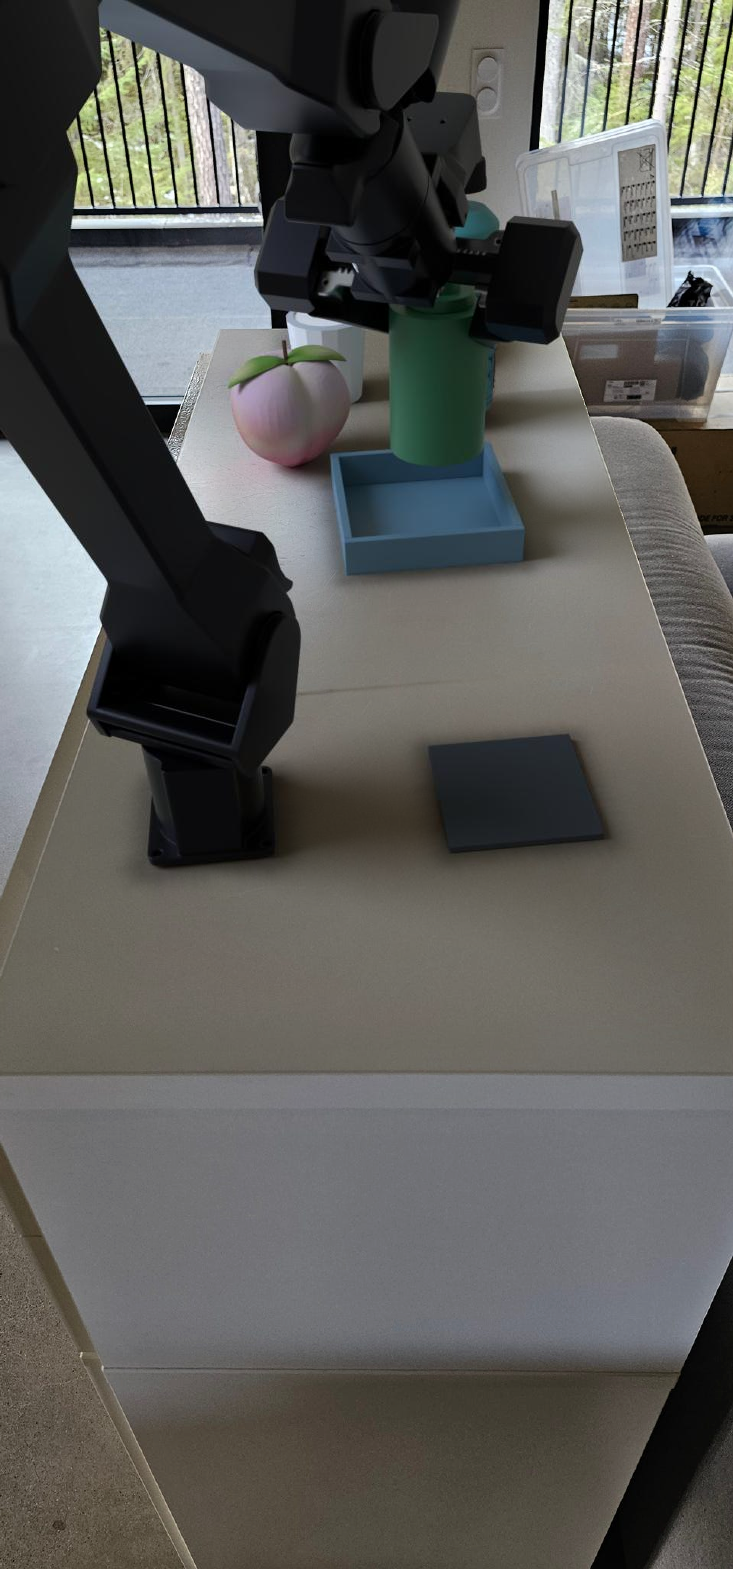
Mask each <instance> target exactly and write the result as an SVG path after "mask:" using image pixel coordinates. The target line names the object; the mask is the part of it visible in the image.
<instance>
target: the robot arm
mask: <svg viewBox="0 0 733 1569" xmlns="http://www.w3.org/2000/svg"><path fill="white" fill-rule="evenodd" d="M462 1H463V0H0V431H1V433H2V435H4V437H5V438H6V440H7V441H8V442H9V444H10V445H11V447H12V448H13V450H14V451H15V452H16V454H17V455H18V456H19V459H20V460H21V461H22V462H23V464H24V466H25V467H26V468H27V470H28V471H29V472H30V474H31V475H32V477H33V478H34V479H35V481H36V482H37V483H38V485H39V486H40V488H41V489H42V491H43V492H44V494H45V495H46V497H47V498H48V499H49V501H50V502H51V504H52V505H53V507H54V508H55V509H56V510H57V512H58V514H59V515H60V517H61V518H62V519H63V520H64V522H65V523H66V525H67V526H68V528H69V529H70V531H71V532H72V533H73V535H74V537H75V538H76V539H77V540H78V542H79V544H81V546H82V547H83V549H84V551H85V552H86V553H87V555H88V556H89V557H90V559H91V560H92V562H93V563H94V564H95V566H96V568H97V569H98V571H99V572H100V573H101V574H102V576H103V577H104V579H105V582H106V583H107V584H106V589H105V592H104V596H103V600H102V605H101V607H100V612H99V617H98V618H99V620H100V625H101V626H102V628H103V630H104V633H105V634H106V639H105V642H104V646H103V649H102V652H101V656H100V660H99V663H98V666H97V667H98V668H97V670H96V674H95V678H94V682H93V685H92V687H91V691H90V696H89V699H88V703H87V706H86V712H85V714H86V718H88V720H89V721H90V723H91V724H92V725H93V727H94V728H95V729H96V731H97V733H98V734H99V735H100V736H102V737H103V736H104V737H107V738H112V737H113V738H117V739H121V740H125V741H128V742H131V743H134V744H138V745H140V747H141V751H142V756H143V760H144V765H145V770H146V773H147V778H148V783H149V788H150V792H151V798H150V799H151V800H150V815H149V828H148V843H147V859H148V862H149V864H150V865H152V866H154V867H162V866H171V865H172V866H173V865H174V866H175V865H184V864H195V863H196V864H197V863H207V862H208V863H209V862H217V861H227V860H228V861H230V860H240V859H251V858H261V857H270V856H272V855H274V854H275V853H276V851H277V831H276V813H275V811H276V810H275V792H274V791H275V790H274V773H273V769H272V768H271V767H270V766H267V765H262V764H263V762H264V761H265V760H266V759H267V757H268V756H269V755H270V753H271V752H272V751H273V749H274V748H275V747H276V745H277V744H278V743H279V741H280V740H281V739H282V738H283V737H284V735H285V734H286V732H288V730H289V728H290V727H291V726H292V725H293V723H294V721H295V710H296V700H297V688H298V680H299V679H298V678H299V668H300V658H301V646H302V632H301V631H302V630H301V626H300V622H299V621H298V619H297V615H296V611H295V608H294V604H293V601H292V599H291V598H290V596H289V594H288V592H289V591H291V590H292V589H293V586H294V582H293V580H291V579H289V578H288V577H286V575H285V573H284V572H283V571H282V568H281V565H280V563H279V559H278V555H277V552H276V547H275V545H274V544H273V543H272V541H271V540H270V539H269V537H267V535H266V534H265V533H264V532H263V531H259V530H254V529H250V528H245V527H240V526H235V525H230V524H225V523H221V522H216V521H211V520H206V517H205V516H204V514H203V512H202V510H201V508H200V506H199V503H198V502H197V500H196V498H195V497H194V494H193V493H192V490H191V489H190V486H189V485H188V483H187V481H186V479H185V477H184V475H183V474H182V472H181V469H180V468H179V466H178V464H177V462H176V460H175V458H174V456H173V454H172V452H171V451H170V449H169V447H168V445H167V442H166V441H165V439H164V438H163V437H164V436H163V435H162V433H161V430H160V429H159V427H158V425H157V423H156V422H155V419H154V418H153V416H152V413H151V412H150V411H149V408H148V406H147V404H146V402H145V401H144V399H143V396H142V394H141V393H140V391H139V389H138V387H137V385H136V382H135V381H134V379H133V377H132V375H131V374H130V372H129V369H128V368H127V366H126V364H125V362H124V360H123V359H122V356H121V355H120V353H119V351H118V348H117V347H116V345H115V343H114V341H113V339H112V337H111V335H110V333H109V332H108V329H107V327H106V326H105V323H104V322H103V320H102V318H101V316H100V314H99V313H98V310H97V309H96V306H95V305H94V303H93V301H92V298H91V296H90V295H89V292H88V291H87V289H86V287H85V285H84V283H83V281H82V279H81V277H80V275H79V274H78V272H77V270H76V267H75V266H74V263H73V261H72V258H71V255H70V252H69V248H70V241H71V240H70V239H71V232H72V224H73V218H74V209H75V202H76V194H77V187H78V180H79V179H78V178H79V166H78V162H77V159H76V156H75V152H74V150H73V147H72V144H71V141H70V138H69V134H68V130H69V129H70V128H71V126H72V125H73V123H74V122H75V120H76V119H77V117H78V115H79V114H80V112H81V111H82V110H83V108H84V106H85V105H86V103H87V102H88V100H89V98H90V97H91V96H92V94H93V92H94V91H95V89H96V88H97V86H98V85H99V83H100V82H101V79H102V77H103V76H102V75H103V58H102V57H103V56H102V44H101V43H102V41H101V28H102V29H104V30H106V31H109V32H111V33H112V34H113V33H114V34H115V35H118V36H120V37H122V38H124V39H126V40H128V41H131V42H133V43H135V44H138V45H140V46H142V47H144V48H146V49H148V50H151V51H153V52H155V53H157V54H160V55H162V56H165V57H167V58H169V59H171V60H173V61H175V62H178V63H180V64H182V65H184V66H187V67H189V68H191V69H193V70H194V71H195V72H197V73H198V74H199V75H200V76H201V77H203V78H204V95H205V96H206V98H207V99H208V101H209V102H210V103H211V104H213V105H214V106H215V107H216V108H217V109H218V110H220V111H221V112H222V113H223V114H225V115H226V116H227V117H228V118H229V119H231V120H232V121H233V122H234V123H236V124H237V125H238V126H239V127H240V128H242V129H244V130H246V131H258V132H272V133H286V134H292V135H291V140H290V144H289V157H290V161H291V163H292V165H291V172H290V176H289V179H288V182H287V186H286V190H285V193H284V195H283V196H281V197H279V198H278V199H276V201H275V202H274V203H273V205H272V206H271V208H270V211H269V215H268V217H267V221H266V226H265V229H264V233H263V237H262V241H261V244H260V246H259V247H260V248H259V251H258V254H257V258H256V261H255V265H254V269H253V277H254V278H253V280H254V286H255V288H256V290H257V292H258V295H259V296H260V297H261V298H262V299H263V301H264V302H265V303H266V305H268V307H269V308H270V309H271V310H276V311H277V310H279V311H286V312H290V311H292V312H300V313H307V314H308V315H309V316H311V317H314V318H321V319H325V320H330V321H334V322H339V323H343V324H347V325H352V326H356V327H360V328H365V329H366V330H369V331H372V332H377V333H382V334H386V335H389V304H397V305H405V306H413V307H421V308H429V309H433V308H434V304H435V301H436V298H438V297H440V296H441V293H442V290H443V286H444V285H445V284H446V283H451V284H460V285H468V286H475V288H474V293H475V295H476V297H478V300H477V303H476V307H475V310H474V314H473V318H472V321H471V325H470V328H469V332H468V337H469V338H470V339H472V340H474V341H476V342H478V343H479V344H481V345H483V346H485V347H488V348H490V349H496V350H497V348H498V344H500V343H501V344H502V343H503V344H511V343H514V342H520V343H521V342H522V343H528V344H536V345H543V346H548V345H550V344H552V343H553V342H554V341H555V340H557V339H558V338H560V336H561V332H562V329H563V326H564V322H565V318H566V315H567V311H568V307H569V305H570V301H571V297H572V294H573V290H574V286H575V283H576V279H577V275H578V273H579V269H580V264H581V261H582V257H583V253H584V245H583V241H582V237H581V233H580V232H579V230H578V228H577V226H576V224H575V223H574V221H573V220H565V219H555V218H554V219H553V218H543V217H533V216H524V215H523V216H522V215H513V216H512V217H511V218H510V219H508V220H507V221H506V224H505V228H504V229H499V230H496V231H494V232H493V233H491V234H490V236H489V237H488V238H487V239H485V240H481V239H471V238H461V237H455V235H454V232H455V229H456V227H462V228H463V227H464V226H465V223H466V219H467V216H468V212H469V209H470V206H469V203H468V200H469V199H468V198H467V195H465V192H464V189H465V187H466V185H467V183H468V180H469V178H470V176H471V174H472V172H473V170H474V168H475V166H476V163H478V162H479V161H480V159H481V156H483V149H482V148H483V147H482V141H481V140H482V139H481V131H480V122H479V113H478V104H477V99H476V97H474V96H473V95H472V94H471V93H466V92H451V91H450V92H449V91H437V90H438V87H439V82H440V79H441V76H442V72H443V68H444V65H445V62H446V58H447V54H448V51H449V47H450V44H451V40H452V38H453V32H454V30H455V25H456V23H457V22H456V21H457V19H458V15H459V12H460V8H461V4H462Z"/></svg>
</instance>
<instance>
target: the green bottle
mask: <svg viewBox="0 0 733 1569" xmlns="http://www.w3.org/2000/svg"><path fill="white" fill-rule="evenodd" d="M477 300H478V297H476V295H475V293H474V286H468V285H460V284H451V283H446V284H445V285H444V286H443V290H442V293H441V296H440V297H438V298H436V301H435V304H434V308H433V309H429V308H421V307H413V306H405V305H397V304H389V334H388V362H389V363H388V364H389V365H388V371H389V372H388V374H389V379H388V380H389V381H388V382H389V386H388V387H389V449H391V451H392V452H393V454H394V455H395V456H397V457H398V458H400V459H402V460H404V461H406V462H409V463H412V464H416V465H422V466H434V467H439V466H451V465H457V464H461V463H464V462H467V461H470V460H472V459H474V458H475V457H477V456H478V455H479V454H480V453H481V452H482V450H483V447H484V442H485V430H486V429H485V427H486V412H485V409H486V388H487V367H488V347H485V346H483V345H481V344H479V343H478V342H476V341H474V340H472V339H470V338H469V337H468V332H469V328H470V325H471V321H472V318H473V314H474V310H475V307H476V303H477Z"/></svg>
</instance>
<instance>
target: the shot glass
mask: <svg viewBox="0 0 733 1569" xmlns="http://www.w3.org/2000/svg"><path fill="white" fill-rule="evenodd" d="M285 318H286V325H287V326H286V327H287V333H288V338H289V343H290V349H295V348H298V347H301V346H305V345H320V346H325V347H328V348H330V349H333V350H335V351H336V352H338V353H339V354H341V355H342V356H343V357H344V358H345V359H346V360H347V361H335V360H329V361H331V362H332V363H333V364H334V365H335V366H336V367H337V368H338V370H339V371H340V372H341V374H342V376H343V378H344V379H345V382H346V384H347V387H348V390H349V394H350V405H353V404H354V403H356V402H357V401H359V400H360V398H361V397H362V395H363V383H364V382H363V381H364V364H365V363H364V362H365V348H366V347H365V346H366V345H365V344H366V330H367V329H365V328H360V327H356V326H352V325H347V324H343V323H339V322H334V321H330V320H325V319H321V318H314V317H311V316H309V315H308V314H307V313H300V312H292V311H288V313H287V314H286V315H285Z"/></svg>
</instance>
